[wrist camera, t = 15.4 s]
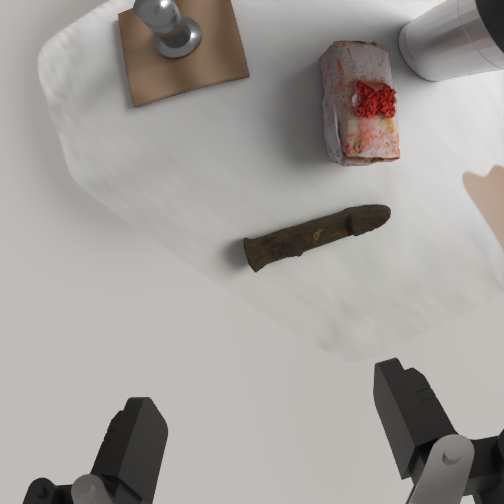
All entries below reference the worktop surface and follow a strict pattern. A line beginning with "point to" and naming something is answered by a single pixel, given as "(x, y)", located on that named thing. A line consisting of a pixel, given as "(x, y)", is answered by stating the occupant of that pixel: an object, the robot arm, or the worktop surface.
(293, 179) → the worktop surface
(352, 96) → the food item
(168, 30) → the round metal knob
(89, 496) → the robot arm
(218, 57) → the walnut board
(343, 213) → the hand tool
